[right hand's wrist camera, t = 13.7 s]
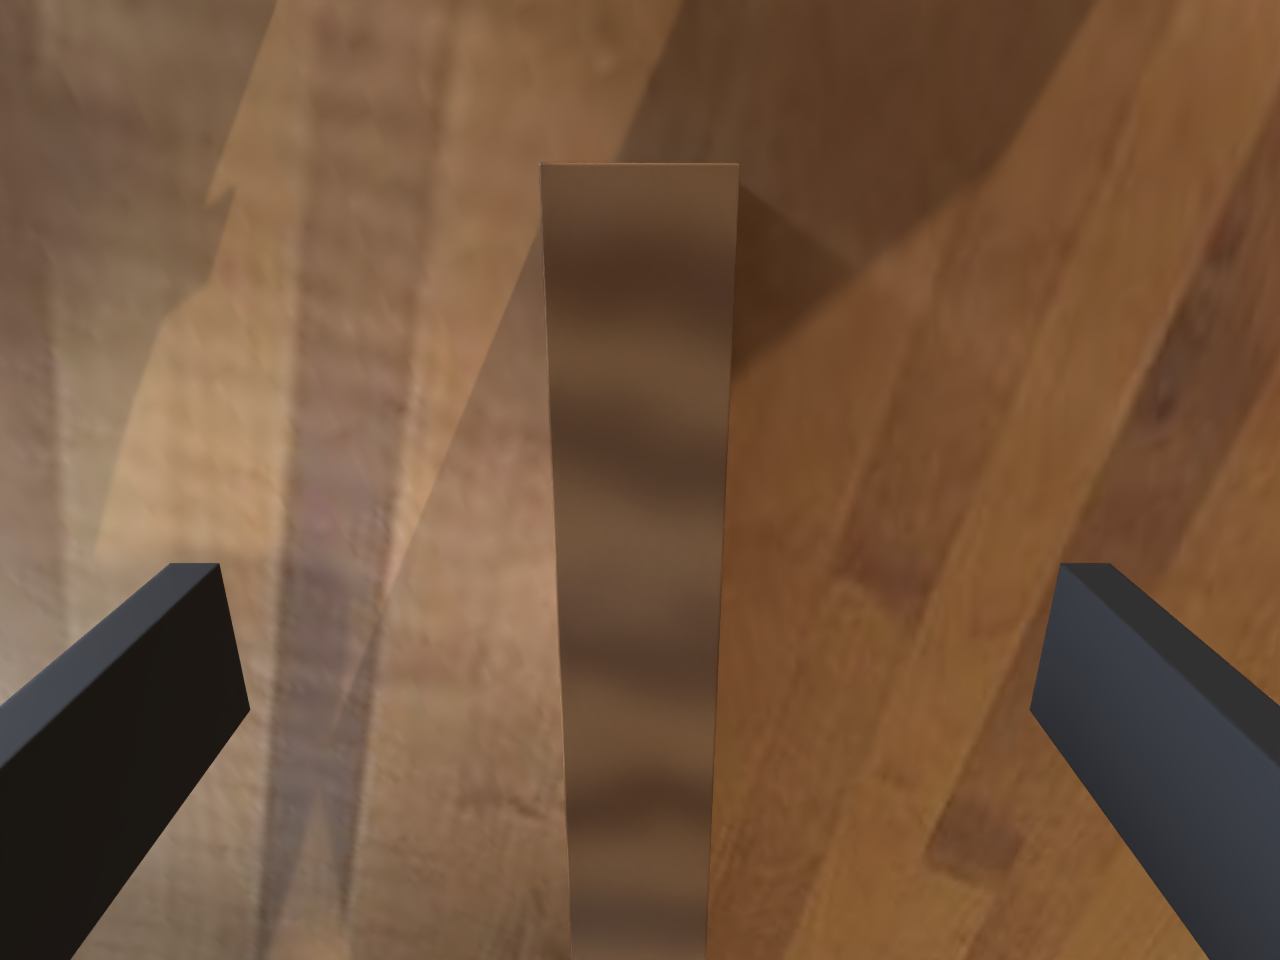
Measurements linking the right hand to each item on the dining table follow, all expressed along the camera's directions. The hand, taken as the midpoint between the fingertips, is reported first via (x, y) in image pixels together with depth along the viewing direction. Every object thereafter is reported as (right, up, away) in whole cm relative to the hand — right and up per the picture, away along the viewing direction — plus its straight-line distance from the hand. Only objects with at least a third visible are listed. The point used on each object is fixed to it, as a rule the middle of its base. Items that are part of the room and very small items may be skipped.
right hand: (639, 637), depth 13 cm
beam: (0, -12, +28) cm, 31 cm away
